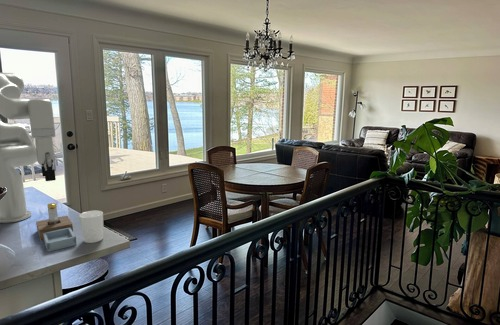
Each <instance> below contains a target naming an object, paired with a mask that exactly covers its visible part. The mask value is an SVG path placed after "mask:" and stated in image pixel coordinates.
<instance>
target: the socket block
mask: <svg viewBox="0 0 500 325" xmlns="http://www.w3.org/2000/svg"><path fill="white" fill-rule="evenodd" d="M58 222H59V223H58V224H53V225H50V222H49V218H46V219H42V220H36V221H35V223H36V225H35V226H36V231H37V232H36V233H37V234H38V238H39V240H40V241H44V238H43V233H46V232H51V231H56V230H60V229H65V228H71V230H72V231H73V232H74V226H73V223H72V220H71V218H69V216H68V215H63V216H58Z"/></svg>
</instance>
